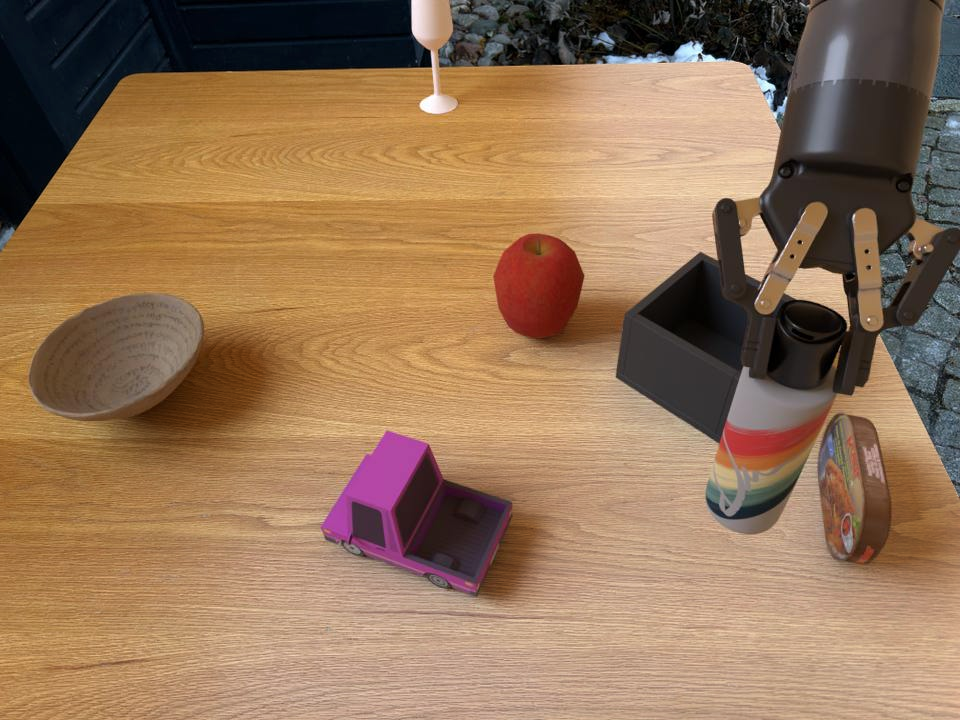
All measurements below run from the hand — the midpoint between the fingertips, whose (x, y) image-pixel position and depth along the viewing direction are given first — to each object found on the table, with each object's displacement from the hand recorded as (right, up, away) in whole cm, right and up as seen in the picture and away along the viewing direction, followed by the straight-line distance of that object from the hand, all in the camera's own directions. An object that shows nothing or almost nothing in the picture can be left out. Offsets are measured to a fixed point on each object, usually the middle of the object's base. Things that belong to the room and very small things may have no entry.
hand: (799, 384), depth 44 cm
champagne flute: (-26, +46, +86) cm, 101 cm away
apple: (-12, +5, +47) cm, 49 cm away
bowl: (-58, -3, +42) cm, 72 cm away
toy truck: (-25, -16, +28) cm, 40 cm away
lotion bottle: (+1, -10, +13) cm, 16 cm away
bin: (+6, 0, +41) cm, 41 cm away
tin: (+16, -13, +28) cm, 35 cm away
